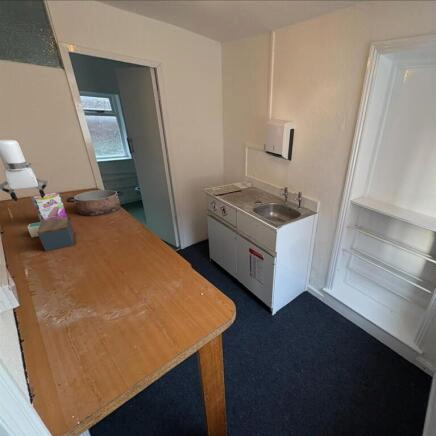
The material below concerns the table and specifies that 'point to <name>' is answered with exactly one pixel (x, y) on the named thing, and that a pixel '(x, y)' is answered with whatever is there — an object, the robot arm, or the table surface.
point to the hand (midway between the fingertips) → (30, 198)
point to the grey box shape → (56, 233)
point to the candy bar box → (49, 206)
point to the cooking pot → (97, 202)
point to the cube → (34, 229)
